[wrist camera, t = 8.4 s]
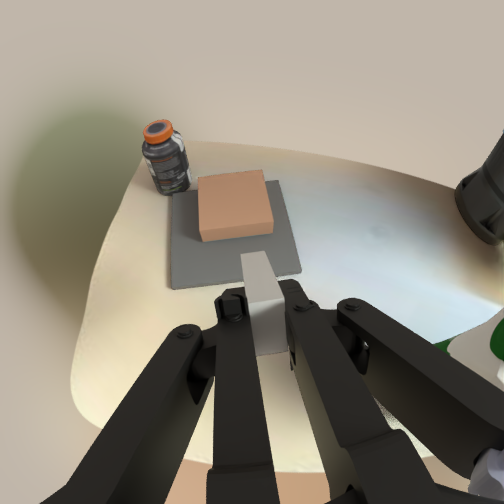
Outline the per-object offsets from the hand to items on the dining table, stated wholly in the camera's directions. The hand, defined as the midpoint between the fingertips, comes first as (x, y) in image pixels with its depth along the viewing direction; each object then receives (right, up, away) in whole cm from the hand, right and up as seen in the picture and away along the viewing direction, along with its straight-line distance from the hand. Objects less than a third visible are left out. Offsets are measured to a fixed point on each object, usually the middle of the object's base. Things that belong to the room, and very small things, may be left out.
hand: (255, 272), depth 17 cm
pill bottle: (-12, +12, +24) cm, 30 cm away
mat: (-3, +4, +20) cm, 20 cm away
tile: (-2, +4, +17) cm, 17 cm away
